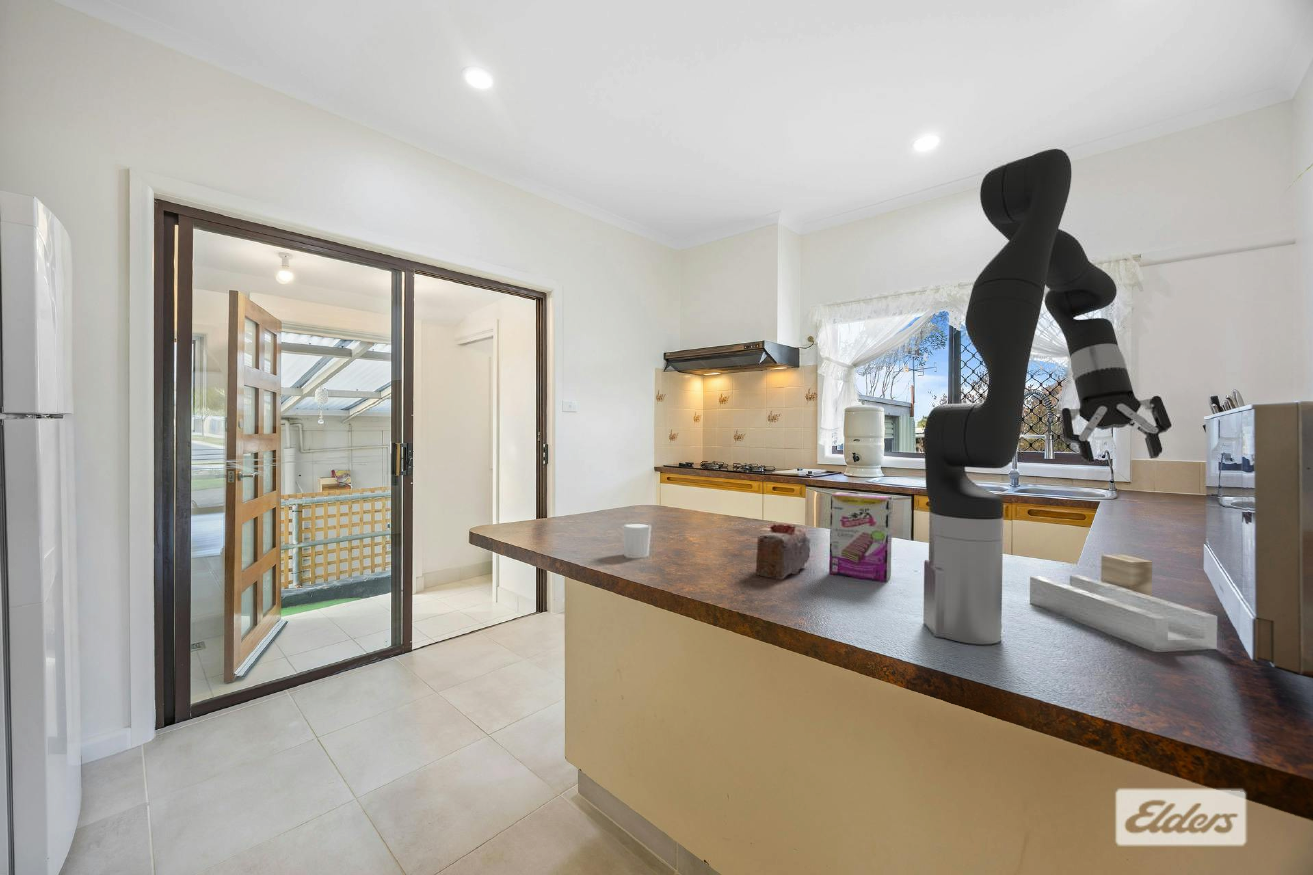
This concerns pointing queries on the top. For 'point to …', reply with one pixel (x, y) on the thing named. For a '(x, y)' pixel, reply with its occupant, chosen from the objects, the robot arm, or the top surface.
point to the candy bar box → (861, 536)
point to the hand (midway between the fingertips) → (1122, 460)
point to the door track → (1127, 614)
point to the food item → (782, 552)
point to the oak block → (1127, 573)
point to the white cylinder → (636, 540)
